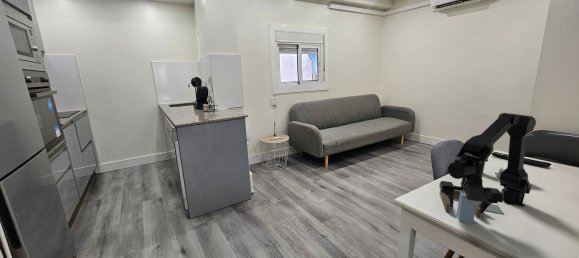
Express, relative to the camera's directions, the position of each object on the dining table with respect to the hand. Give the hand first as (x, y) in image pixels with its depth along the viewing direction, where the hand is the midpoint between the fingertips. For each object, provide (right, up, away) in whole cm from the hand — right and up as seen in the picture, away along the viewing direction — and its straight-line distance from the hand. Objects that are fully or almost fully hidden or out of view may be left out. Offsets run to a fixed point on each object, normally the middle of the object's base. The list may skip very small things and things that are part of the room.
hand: (465, 210), depth 92 cm
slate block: (0, -3, +1) cm, 4 cm away
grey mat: (+16, -2, +8) cm, 18 cm away
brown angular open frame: (+6, -1, +10) cm, 12 cm away
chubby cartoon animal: (+47, +5, +33) cm, 58 cm away
